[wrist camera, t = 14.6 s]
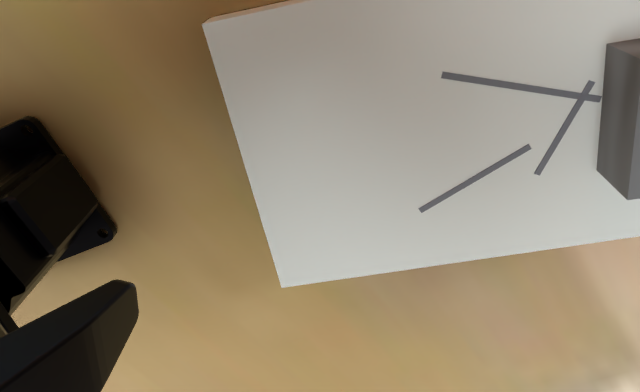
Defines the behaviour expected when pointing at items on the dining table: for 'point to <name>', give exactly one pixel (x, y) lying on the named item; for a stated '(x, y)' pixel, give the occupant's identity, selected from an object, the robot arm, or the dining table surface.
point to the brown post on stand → (621, 119)
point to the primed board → (422, 128)
